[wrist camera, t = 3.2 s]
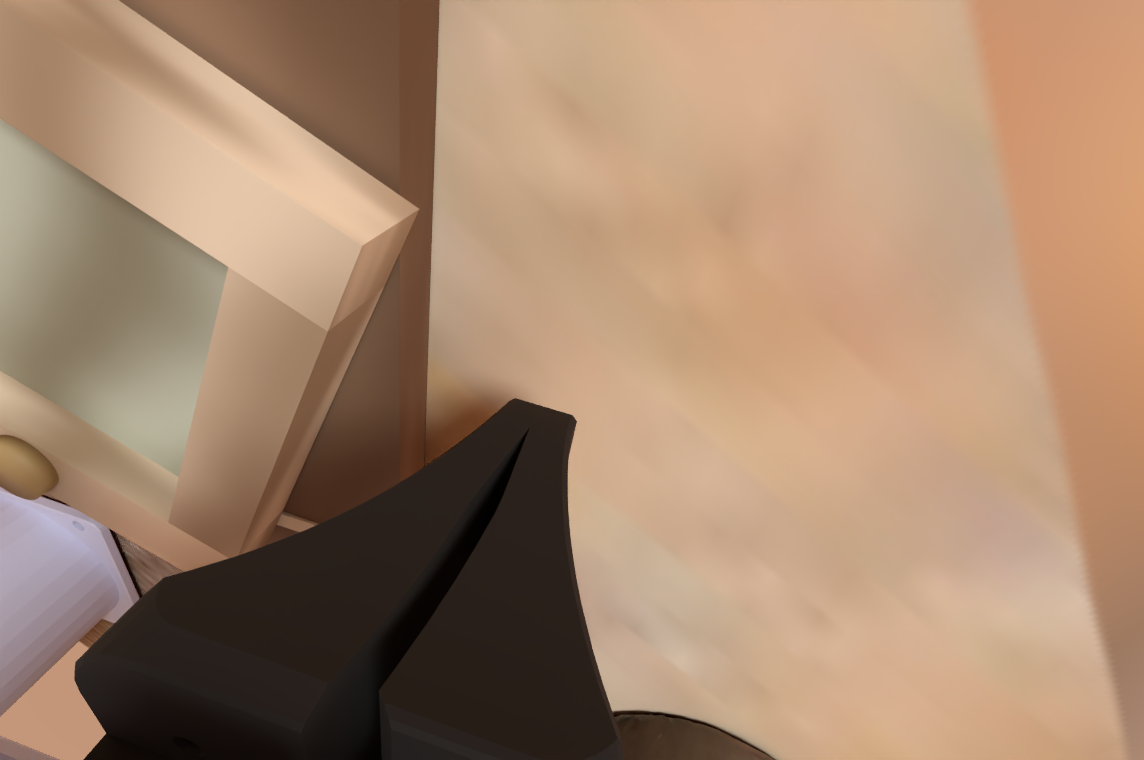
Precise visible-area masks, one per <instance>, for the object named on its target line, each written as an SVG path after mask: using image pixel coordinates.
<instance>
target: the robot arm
mask: <svg viewBox="0 0 1144 760" xmlns="http://www.w3.org/2000/svg"><path fill="white" fill-rule="evenodd" d="M576 422H577V421H576V420H575V418H574V417H573V415H570V414H566V413H563V412H560V411H556V410H553V409H550V408H546V407H543V406H540V405H536V404H533V403H529V402H526V401H523V400H519V399H516V398H515V399H513V400H511V401H509V402H508V403H507V404H506V405H505V406H503V407H502V408H501V409H500V410H499V411H498V412H497V413H495V414H494V415H493V416H492V417H491V418H490V419H488V420H487V421H486V422H485V423H483V424H482V425H481V426H480V427H478V428H477V429H476V430H475V431H474V432H472V433H471V434H470V435H468V436H467V437H466V438H464V439H463V440H462V441H460V442H459V443H458V444H456V445H455V446H454V447H452V448H451V449H450V450H448V451H447V452H445V453H444V454H443V455H441V456H440V457H438V458H437V459H435V460H434V461H432V462H431V463H429V464H428V465H426V466H425V467H423V468H422V469H420V470H419V471H417V472H416V473H414V474H413V475H411V476H409V477H408V478H406V479H405V480H403V481H401V482H400V483H398V484H396V485H395V486H393V487H391V488H389V489H388V490H386V491H384V492H382V493H380V494H379V495H377V496H375V497H373V498H371V499H369V500H368V501H366V502H364V503H362V504H360V505H358V506H356V507H354V508H352V509H350V510H348V511H346V512H343V513H341V514H339V515H337V516H335V517H333V518H331V519H329V520H327V521H325V522H322V523H320V524H318V525H316V526H313V527H311V528H309V529H306V530H304V531H301V532H299V533H296V534H294V535H291V536H289V537H286V538H284V539H281V540H278V541H276V542H273V543H271V544H268V545H266V546H263V547H261V548H258V549H255V550H252V551H250V552H247V553H244V554H241V555H238V556H235V557H232V558H229V559H225V560H222V561H219V562H216V563H212V564H209V565H206V566H202V567H199V568H196V569H193V570H189V571H186V572H183V573H180V574H176V575H172V576H169V577H165V578H163V579H162V580H161V581H160V582H159V583H158V584H156V585H155V586H154V587H153V588H152V589H151V590H149V591H148V592H147V593H146V594H145V595H143V596H142V597H141V598H139V595H138V593H137V591H136V589H135V586H134V584H133V582H132V579H131V577H130V575H129V573H128V570H127V568H126V566H125V564H124V561H123V559H122V557H121V555H120V552H119V550H118V548H117V545H116V543H115V541H114V539H113V536H112V534H111V532H110V530H109V528H107V527H106V526H104V525H102V524H100V523H99V522H97V521H95V520H94V519H92V518H90V517H88V516H87V515H85V514H83V513H81V512H80V511H78V510H76V509H74V508H73V507H70V506H67V505H65V504H62V503H59V502H56V501H53V500H50V499H47V498H44V497H39V498H38V499H36V500H27V499H23V498H20V497H17V496H15V495H13V494H11V493H9V492H8V491H6V490H5V489H3V488H2V487H0V716H1V715H2V714H3V713H4V712H6V710H7V709H9V708H10V707H11V706H12V705H13V704H14V703H15V702H16V701H17V700H18V699H19V698H20V697H21V696H22V695H23V694H24V693H25V692H26V691H27V690H28V689H29V688H30V687H32V686H33V685H34V683H36V682H37V681H38V680H39V679H40V678H41V677H42V676H43V675H44V674H45V673H46V672H47V671H48V670H49V669H50V668H51V667H52V666H53V665H54V664H55V663H56V662H58V661H59V660H60V659H61V658H62V657H63V656H64V655H65V654H66V653H67V652H68V651H69V650H70V649H71V648H72V647H73V646H74V645H75V644H76V643H77V642H78V641H79V640H80V639H81V638H82V637H84V636H85V635H86V634H87V633H88V632H89V631H90V630H91V629H92V628H93V627H94V626H95V625H96V624H97V623H98V622H99V621H100V620H101V619H104V620H107V621H109V622H112V623H114V624H113V625H112V626H111V627H110V628H109V629H108V630H107V631H106V632H105V633H104V634H103V635H102V636H101V637H100V638H99V639H98V640H97V641H96V642H95V643H94V644H93V645H92V646H91V647H90V648H89V649H88V650H87V652H85V653H84V654H83V656H81V657H80V658H79V659H78V660H77V661H76V664H75V682H76V684H77V686H78V689H79V691H80V693H81V694H82V696H83V697H84V699H85V700H86V702H87V704H88V705H89V707H90V708H91V710H92V711H93V713H94V715H95V716H96V717H97V719H98V721H99V722H100V724H101V725H102V727H103V729H104V730H105V732H106V735H105V736H104V737H103V738H102V739H101V740H100V741H99V743H98V744H97V745H96V746H95V747H94V748H93V749H92V751H91V752H90V753H89V754H88V755H87V756H86V757H85V759H84V760H624V758H623V750H622V740H621V735H620V732H619V729H618V727H617V724H616V721H615V718H614V715H613V713H612V710H611V707H610V704H609V701H608V698H607V695H606V692H605V689H604V686H603V683H602V680H601V676H600V673H599V670H598V666H597V663H596V659H595V656H594V653H593V649H592V645H591V641H590V637H589V633H588V629H587V625H586V621H585V617H584V613H583V609H582V605H581V600H580V595H579V590H578V585H577V579H576V574H575V567H574V561H573V554H572V547H571V538H570V528H569V515H568V458H569V453H570V448H571V444H572V440H573V435H574V431H575V427H576ZM0 760H59V759H57V758H54V757H52V756H49V755H47V754H44V753H41V752H39V751H37V750H34V749H32V748H29V747H26V746H24V745H21V744H19V743H17V742H14V741H12V740H9V739H7V738H4V737H1V736H0Z"/></svg>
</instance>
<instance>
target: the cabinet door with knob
mask: <svg viewBox="0 0 1144 760" xmlns="http://www.w3.org/2000/svg"><path fill="white" fill-rule="evenodd" d="M418 211H419V208H417V207H416V206H414V205H413V204H411V203H410V202H409V201H407V200H406V199H404V198H403V197H401V196H400V195H398V194H397V193H396V192H394V191H393V190H391V189H390V188H388V187H387V186H386V185H384V184H383V183H381V182H380V181H378V180H377V179H375V178H374V177H373V176H371V175H370V174H368V173H367V172H365V171H364V170H362V169H361V168H360V167H358V166H357V165H355V164H354V163H352V162H351V161H349V160H348V159H347V158H345V157H344V156H342V155H341V154H339V153H338V152H337V151H335V150H334V149H332V148H331V147H329V146H328V145H326V144H325V143H324V142H322V141H321V140H319V139H318V138H316V137H315V136H313V135H312V134H311V133H309V132H308V131H306V130H305V129H303V128H302V127H300V126H299V125H298V124H296V123H295V122H293V121H292V120H290V119H289V118H288V117H286V116H285V115H283V114H282V113H280V112H279V111H277V110H276V109H275V108H273V107H272V106H270V105H269V104H267V103H266V102H264V101H263V100H262V99H260V98H259V97H257V96H256V95H254V94H253V93H251V92H250V91H249V90H247V89H246V88H244V87H243V86H241V85H240V84H239V83H237V82H236V81H234V80H233V79H231V78H230V77H228V76H227V75H226V74H224V73H223V72H221V71H220V70H218V69H217V68H215V67H214V66H213V65H211V64H210V63H208V62H207V61H205V60H204V59H203V58H201V57H200V56H198V55H197V54H195V53H194V52H192V51H191V50H190V49H188V48H187V47H185V46H184V45H182V44H181V43H179V42H178V41H177V40H175V39H174V38H172V37H171V36H169V35H168V34H166V33H165V32H164V31H162V30H161V29H159V28H158V27H156V26H155V25H154V24H152V23H151V22H149V21H148V20H146V19H145V18H143V17H142V16H141V15H139V14H138V13H136V12H135V11H133V10H132V9H130V8H129V7H128V6H126V5H125V4H123V3H122V2H120V1H119V0H0V487H2V488H3V489H5V490H6V491H8V492H9V493H11V494H13V495H15V496H17V497H20V498H23V499H27V500H36V499H38V498H39V497H41V496H42V495H43V494H45V493H46V492H47V493H48V494H50V495H52V496H54V497H55V498H57V499H59V500H60V501H62V502H64V503H66V504H67V505H69V506H71V507H73V508H74V509H76V510H78V511H80V512H81V513H83V514H85V515H87V516H88V517H90V518H92V519H94V520H95V521H97V522H99V523H100V524H102V525H104V526H106V527H107V528H109V529H111V530H113V531H114V532H116V533H118V534H120V535H121V536H123V537H125V538H127V539H128V540H130V541H132V542H133V543H135V544H137V545H139V546H140V547H142V548H144V549H146V550H147V551H149V552H151V553H153V554H154V555H156V556H158V557H160V558H161V559H163V560H165V561H166V562H168V563H170V564H172V565H173V566H175V567H177V568H179V569H180V570H182V571H184V572H186V571H189V570H193V569H196V568H199V567H202V566H206V565H209V564H212V563H216V562H219V561H222V560H225V559H229V558H232V557H235V556H238V555H241V554H244V553H247V552H250V551H252V550H255V549H258V548H261V547H263V546H265V545H266V544H267V543H268V542H269V540H270V538H271V536H272V534H273V531H274V529H275V527H276V525H277V523H278V520H279V518H280V516H281V514H282V512H283V509H284V507H285V505H286V503H287V501H288V498H289V496H290V494H291V492H292V489H293V487H294V485H295V483H296V481H297V478H298V476H299V474H300V472H301V470H302V467H303V465H304V463H305V461H306V459H307V456H308V454H309V452H310V450H311V447H312V445H313V443H314V441H315V439H316V436H317V434H318V432H319V430H320V428H321V425H322V423H323V421H324V419H325V417H326V414H327V412H328V410H329V408H330V405H331V403H332V401H333V399H334V397H335V394H336V392H337V390H338V388H339V386H340V383H341V381H342V379H343V377H344V375H345V372H346V370H347V368H348V366H349V363H350V361H351V359H352V357H353V355H354V352H355V350H356V348H357V346H358V344H359V341H360V339H361V337H362V335H363V333H364V330H365V328H366V326H367V324H368V321H369V319H370V317H371V315H372V313H373V310H374V308H375V306H376V304H377V302H378V299H379V297H380V295H381V293H382V291H383V288H384V286H385V284H386V282H387V279H388V277H389V275H390V273H391V271H392V268H393V266H394V264H395V262H396V260H397V257H398V255H399V253H400V251H401V249H402V246H403V244H404V242H405V240H406V237H407V235H408V233H409V231H410V229H411V226H412V224H413V222H414V220H415V218H416V215H417V213H418Z"/></svg>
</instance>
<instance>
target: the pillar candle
mask: <svg viewBox="0 0 1144 760" xmlns="http://www.w3.org/2000/svg"><path fill="white" fill-rule="evenodd" d="M614 718H615V721H616V724H617V727H618V729H619V732H620V735H621V740H622V750H623V758H624V760H774V759H773V758H771V757H769V756H768V755H766V754H764V753H762V752H760V751H758V750H756V749H755V748H753V747H751V746H749V745H747V744H745V743H743V742H741V741H739V740H737V739H735V738H733V737H731V736H729V735H727V734H726V733H724V732H721V731H719V730H717V729H714V728H711V727H709V726H706V725H703V724H699V723H693V722H691V721H688V720H684V719H678V718H669V717H665V716H664V715H654V716H653V715H652V714H650V715H619V716H617V717H614Z"/></svg>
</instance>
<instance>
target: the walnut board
mask: <svg viewBox="0 0 1144 760" xmlns="http://www.w3.org/2000/svg"><path fill="white" fill-rule="evenodd" d="M119 1H120V2H122V3H123V4H125V5H126V6H128V7H129V8H130V9H132V10H133V11H135V12H136V13H138V14H139V15H141V16H142V17H143V18H145V19H146V20H148V21H149V22H151V23H152V24H154V25H155V26H156V27H158V28H159V29H161V30H162V31H164V32H165V33H166V34H168V35H169V36H171V37H172V38H174V39H175V40H177V41H178V42H179V43H181V44H182V45H184V46H185V47H187V48H188V49H190V50H191V51H192V52H194V53H195V54H197V55H198V56H200V57H201V58H203V59H204V60H205V61H207V62H208V63H210V64H211V65H213V66H214V67H215V68H217V69H218V70H220V71H221V72H223V73H224V74H226V75H227V76H228V77H230V78H231V79H233V80H234V81H236V82H237V83H239V84H240V85H241V86H243V87H244V88H246V89H247V90H249V91H250V92H251V93H253V94H254V95H256V96H257V97H259V98H260V99H262V100H263V101H264V102H266V103H267V104H269V105H270V106H272V107H273V108H275V109H276V110H277V111H279V112H280V113H282V114H283V115H285V116H286V117H288V118H289V119H290V120H292V121H293V122H295V123H296V124H298V125H299V126H300V127H302V128H303V129H305V130H306V131H308V132H309V133H311V134H312V135H313V136H315V137H316V138H318V139H319V140H321V141H322V142H324V143H325V144H326V145H328V146H329V147H331V148H332V149H334V150H335V151H337V152H338V153H339V154H341V155H342V156H344V157H345V158H347V159H348V160H349V161H351V162H352V163H354V164H355V165H357V166H358V167H360V168H361V169H362V170H364V171H365V172H367V173H368V174H370V175H371V176H373V177H374V178H375V179H377V180H378V181H380V182H381V183H383V184H384V185H386V186H387V187H388V188H390V189H391V190H393V191H394V192H396V193H397V194H398V195H400V196H401V197H403V198H404V199H406V200H407V201H409V202H410V203H411V204H413V205H414V206H416V207H417V208H419V211H418V213H417V215H416V218H415V220H414V222H413V224H412V226H411V229H410V231H409V233H408V235H407V237H406V240H405V242H404V244H403V246H402V249H401V251H400V253H399V255H398V257H397V260H396V262H395V264H394V266H393V268H392V271H391V273H390V275H389V277H388V279H387V282H386V284H385V286H384V288H383V291H382V293H381V295H380V297H379V299H378V302H377V304H376V306H375V308H374V310H373V313H372V315H371V317H370V319H369V321H368V324H367V326H366V328H365V330H364V333H363V335H362V337H361V339H360V341H359V344H358V346H357V348H356V350H355V352H354V355H353V357H352V359H351V361H350V363H349V366H348V368H347V370H346V372H345V375H344V377H343V379H342V381H341V383H340V386H339V388H338V390H337V392H336V394H335V397H334V399H333V401H332V403H331V405H330V408H329V410H328V412H327V414H326V417H325V419H324V421H323V423H322V425H321V428H320V430H319V432H318V434H317V436H316V439H315V441H314V443H313V445H312V447H311V450H310V452H309V454H308V456H307V459H306V461H305V463H304V465H303V467H302V470H301V472H300V474H299V476H298V478H297V481H296V483H295V485H294V487H293V489H292V492H291V494H290V496H289V498H288V501H287V503H286V505H285V507H284V509H283V512H282V514H281V516H280V518H279V520H278V523H277V525H276V527H275V529H274V531H273V534H272V536H271V538H270V540H269V542H268V543H267V544H266V545H268V544H271V543H273V542H276V541H278V540H281V539H284V538H286V537H289V536H291V535H294V534H296V533H299V532H301V531H304V530H306V529H309V528H311V527H313V526H316V525H318V524H320V523H322V522H325V521H327V520H329V519H331V518H333V517H335V516H337V515H339V514H341V513H343V512H346V511H348V510H350V509H352V508H354V507H356V506H358V505H360V504H362V503H364V502H366V501H368V500H369V499H371V498H373V497H375V496H377V495H379V494H380V493H382V492H384V491H386V490H388V489H389V488H391V487H393V486H395V485H396V484H398V483H400V482H401V481H403V480H405V479H406V478H408V477H409V476H411V475H413V474H414V473H416V472H417V471H419V470H420V469H422V468H423V467H424V456H425V426H426V395H427V365H428V334H429V303H430V273H431V242H432V211H433V181H434V150H435V120H436V89H437V58H438V28H439V0H119ZM43 495H46V496H48V497H51V498H54V499H57V498H55V497H54V496H52V495H50V494H48V493H47V492H46V493H45V494H43ZM57 500H59V499H57ZM266 545H265V546H266Z"/></svg>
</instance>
